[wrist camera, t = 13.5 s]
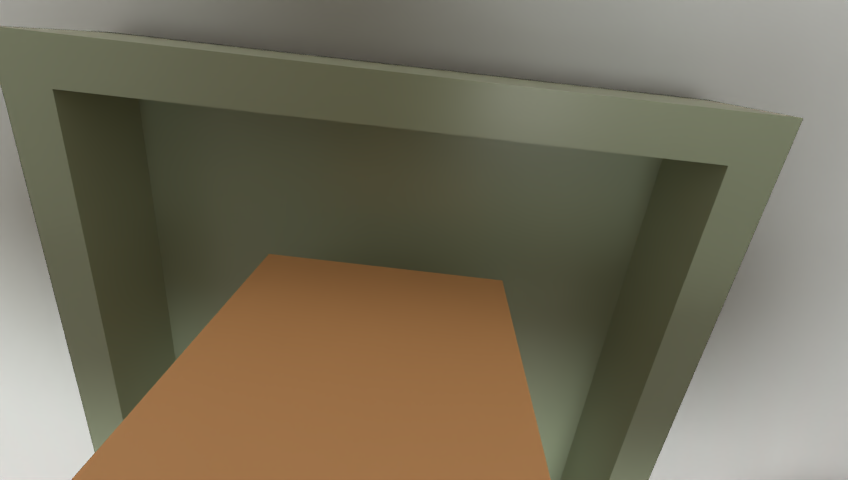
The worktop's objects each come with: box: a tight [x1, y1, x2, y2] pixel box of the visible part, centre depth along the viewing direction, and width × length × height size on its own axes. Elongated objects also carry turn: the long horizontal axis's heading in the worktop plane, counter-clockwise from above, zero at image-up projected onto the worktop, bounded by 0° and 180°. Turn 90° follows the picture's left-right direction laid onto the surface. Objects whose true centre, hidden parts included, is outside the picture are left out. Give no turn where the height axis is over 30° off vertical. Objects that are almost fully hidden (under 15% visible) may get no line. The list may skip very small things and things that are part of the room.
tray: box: [0, 26, 803, 480], centre depth 10 cm, size 12×12×3 cm
